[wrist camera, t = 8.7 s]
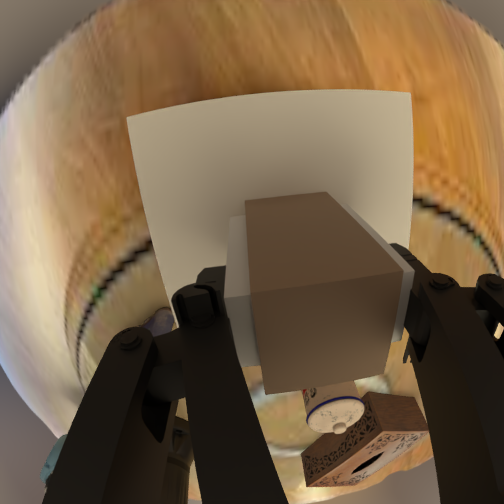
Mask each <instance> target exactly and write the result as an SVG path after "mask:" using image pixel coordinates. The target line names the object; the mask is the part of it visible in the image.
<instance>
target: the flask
mask: <svg viewBox="0 0 504 504" xmlns="http://www.w3.org/2000/svg"><path fill="white" fill-rule="evenodd" d="M173 323H174V316H173V313H172V310H170V309H169V308H168V307H166V308H162V309H160V310H158V311H156V313H155V315H153V316H152V317H149V318H148V319H146V320H145V322H144V324H143V325H142V326H140V325H139V327H144V328H146V329H148V330H150V332H151V333H152V335H153V337H155V336H158V335H162V334H165V333H168V332H171V330H172V326H173Z"/></svg>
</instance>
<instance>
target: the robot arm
mask: <svg viewBox="0 0 504 504" xmlns="http://www.w3.org/2000/svg"><path fill="white" fill-rule="evenodd" d="M341 206H342V207H343V208H344V209H345V210H346V211H347V212H348V213H349V214H350V215H351V216H352V217H353V218H354V219H355V220H356V221H357V222H358V223H359V224H360V225H361V226H362V227H363V228H364V229H365V230H366V231H367V232H368V233H369V234H370V235H371V236H372V237H373V238H374V239H375V240H376V241H377V242H378V243H379V244H380V245H381V246H382V248H383V249H384V250H385V251H386V252H387V253H388V254H389V255H390V256H391V257H392V258H393V259H394V260H395V261H396V263H397V264H398V265H399V266H400V267H401V268H402V269H403V270H404V272H403V279H402V286H401V292H400V299H399V304H398V310H397V316H396V321H395V326H394V331H393V336H392V340H391V342H396V341H400V340H401V339H402V334H403V330H404V327H405V328H406V330H407V331H408V333H409V338H408V342H407V346H406V349H405V353H404V357H403V363H406V361H407V358H408V355H409V354H410V358H411V360H410V363H412V365H413V368H414V372H415V375H416V379H417V383H418V386H419V390H420V394H421V398H422V402H423V406H424V411H425V415H426V419H427V424H428V429H429V433H430V438H431V443H432V449H433V454H434V460H435V466H436V472H437V479H438V485H439V486H438V487H439V494H440V503H441V504H504V330H503V332H502V334H501V337H500V338H499V339H497V338H496V337H495V336H494V334H495V331H496V329H497V326H498V324H499V323H500V324H501V325H502V326H503V327H504V279H503V278H501V277H499V276H497V275H495V274H483V275H481V276H479V278H478V280H477V283H476V287H460V286H459V284H458V283H457V282H456V281H455V280H454V279H453V278H452V277H450V276H448V275H445V274H441V273H431V272H430V271H429V270H428V269H427V268H426V267H425V266H424V265H423V264H422V263H421V262H420V261H419V260H417V258H416V257H415V256H414V255H412V253H411V252H410V251H409V250H408V249H407V248H405V247H403V246H401V245H399V244H397V243H391V244H388V243H387V242H386V241H385V240H384V239H383V238H382V237H381V236H380V235H379V234H378V233H377V232H376V231H375V230H374V229H373V228H372V227H371V226H370V225H369V224H368V223H367V222H366V221H365V220H364V219H362V218H361V217H360V216H359V215H358V214H357V213H356V212H355V211H354V210H353V209H352V208H351V207H350V206H348V205H347V204H341ZM171 302H172V305H173V309H174V312H175V315H176V318H177V321H178V325H179V328H177V329H175V330H173V331H171V332H168V333H165V334H162V335H158V336H155V337H153V335H152V333H151V332H150V330H148V329H146V328H144V327H132V328H128V329H125V330H123V331H121V332H119V333H118V334H117V335H115V336H114V337H113V339H112V340H111V341H110V343H109V345H108V347H107V349H106V351H105V353H104V355H103V357H102V359H101V361H100V363H99V365H98V367H97V369H96V371H95V373H94V376H93V378H92V380H91V382H90V384H89V386H88V388H87V391H86V393H85V395H84V397H83V399H82V402H81V404H80V406H79V408H78V411H77V413H76V415H75V417H74V420H73V422H72V425H71V427H70V429H69V432H68V434H65V435H63V436H61V437H60V438H59V439H58V441H57V442H56V444H55V445H54V447H53V449H52V450H51V452H50V454H49V456H48V457H47V460H46V463H45V464H44V466H43V468H42V471H41V474H40V479H41V480H42V481H43V483H45V484H46V486H45V490H44V492H45V496H44V499H43V502H42V504H188V488H189V473H190V466H191V464H192V462H193V460H194V461H195V467H196V472H197V478H198V483H199V489H200V494H201V499H202V504H289V503H288V501H287V498H286V496H285V493H284V490H283V488H282V485H281V482H280V480H279V477H278V474H277V471H276V469H275V466H274V463H273V460H272V458H271V455H270V452H269V449H268V446H267V443H266V441H265V438H264V435H263V432H262V429H261V426H260V423H259V420H258V417H257V414H256V411H255V408H254V405H253V402H252V399H251V396H250V393H249V390H248V387H247V384H246V381H245V378H244V375H243V372H242V368H241V367H248V366H257V365H261V362H260V356H259V349H258V342H257V335H256V329H255V322H254V315H253V308H252V301H251V294H250V280H249V264H248V248H247V231H246V215H242V216H234V217H230V224H229V236H228V248H227V261H226V265H224V266H216V267H208V268H204V269H203V270H202V271H201V272H200V273H199V274H198V275H197V280H196V283H192V284H189V285H186V286H184V287H182V288H180V289H179V290H177V291H176V292H175V293H174V294H173V296H172V299H171ZM185 397H186V406H187V413H188V421H189V422H187V421H185V420H183V419H180V418H178V417H175V415H176V410H177V406H178V399H181V398H185Z"/></svg>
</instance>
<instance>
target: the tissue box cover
mask: <svg viewBox="0 0 504 504" xmlns="http://www.w3.org/2000/svg"><path fill="white" fill-rule="evenodd" d="M361 400H362V401H363V402H364V413H363V415H362V416H361V418H360V419H359V420H358V421H357V422H355V423H354V424H353V425H351V426H349V427H347V429H346V431H345V432H343V433H341V434H335V433H334V432H328V433H325V434H323V435H322V436H321V437H320V438H319V439H318V440H317V441H315V442H314V443H313V444H312V445H311V446H309V447H308V448H307V449H306V450H305V451H303V452H302V453H301V456H302V463H303V469H304V475H305V481H306V487H336V486H353V485H356V484H358V483H360V482H361V481H363V480H364V479H366V478H368V477H369V476H371V475H372V474H374V473H375V472H377V471H378V470H380V469H381V468H383V467H384V466H385V465H387V464H388V463H390V462H391V461H393V460H394V459H395V458H397V457H398V456H399V455H401V454H402V453H403V452H405V451H406V450H407V449H409V448H410V447H411V446H412V445H414V444H415V443H416V442H417V441H419V440H420V439H421V438H422V437H423V436H425V435H426V434H427V433H428V432H429V429H428V425H427V423H426V420H425V418H424V416H423V414H422V412H421V410H420V408H419V406H418V404H417V402H416V400H415V398H414V397H406V396H397V395H389V394H381V393H374V392H367V393H366V394H365V395H364V396H363V397H362V398H361Z"/></svg>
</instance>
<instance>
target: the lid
mask: <svg viewBox="0 0 504 504" xmlns="http://www.w3.org/2000/svg"><path fill="white" fill-rule="evenodd" d="M126 118H127V124H128V130H129V136H130V142H131V147H132V153H133V158H134V164H135V169H136V174H137V179H138V183H139V188H140V193H141V197H142V202H143V206H144V210H145V215H146V219H147V223H148V227H149V231H150V235H151V239H152V243H153V247H154V251H155V254H156V258H157V262H158V265H159V269H160V273H161V276H162V280H163V283H164V287H165V290H166V293H167V297H168V300H169V303H170V306H171V310H172V313H173V316H174V319H175V322H176V325H177V328H179V325H178V321H177V318H176V315H175V312H174V309H173V305H172V302H171V299H172V296H173V294H174V293H175V292H176V291H177V290H179V289H180V288H182V287H184V286H186V285H189V284H192V283H196V280H197V275H198V274H199V273H200V272H201V271H202V270H203V269H204V268H208V267H216V266H224V265H226V261H227V248H228V236H229V224H230V217H234V216H242V215H246V231H247V248H248V264H249V280H250V294H251V301H252V308H253V315H254V322H255V329H256V335H257V342H258V349H259V356H260V362H261V369H262V376H263V383H264V389H265V395H268V394H276V393H284V392H291V391H298V390H305V389H311V388H317V387H323V386H328V385H334V384H339V383H344V382H349V381H354V380H358V379H363V378H367V377H371V376H376V375H380V374H384V370H385V366H386V362H387V358H388V353H389V349H390V345H391V340H392V336H393V331H394V326H395V321H396V316H397V310H398V304H399V299H400V292H401V286H402V279H403V272H404V270H403V269H402V268H401V267H400V266H399V265H398V264H397V263H396V261H395V260H394V259H393V258H392V257H391V256H390V255H389V254H388V253H387V252H386V251H385V250H384V249H383V248H382V246H381V245H380V244H379V243H378V242H377V241H376V240H375V239H374V238H373V237H372V236H371V235H370V234H369V233H368V232H367V231H366V230H365V229H364V228H363V227H362V226H361V225H360V224H359V223H358V222H357V221H356V220H355V219H354V218H353V217H352V216H351V215H350V214H349V213H348V212H347V211H346V210H345V209H344V208H343V207H342V206H341V204H347V205H348V206H350V207H351V208H352V209H353V210H354V211H355V212H356V213H357V214H358V215H359V216H360V217H361V218H362V219H364V220H365V221H366V222H367V223H368V224H369V225H370V226H371V227H372V228H373V229H374V230H375V231H376V232H377V233H378V234H379V235H380V236H381V237H382V238H383V239H384V240H385V241H386V242H387V243H388V244H391V243H397V244H399V245H401V246H403V247H405V248H407V249H408V248H409V238H410V227H411V214H412V197H413V120H412V103H411V93H408V92H396V91H380V90H348V89H331V90H298V91H282V92H269V93H258V94H249V95H240V96H232V97H225V98H218V99H211V100H205V101H199V102H193V103H188V104H182V105H177V106H172V107H168V108H163V109H158V110H154V111H150V112H145V113H141V114H137V115H133V116H129V117H126Z"/></svg>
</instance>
